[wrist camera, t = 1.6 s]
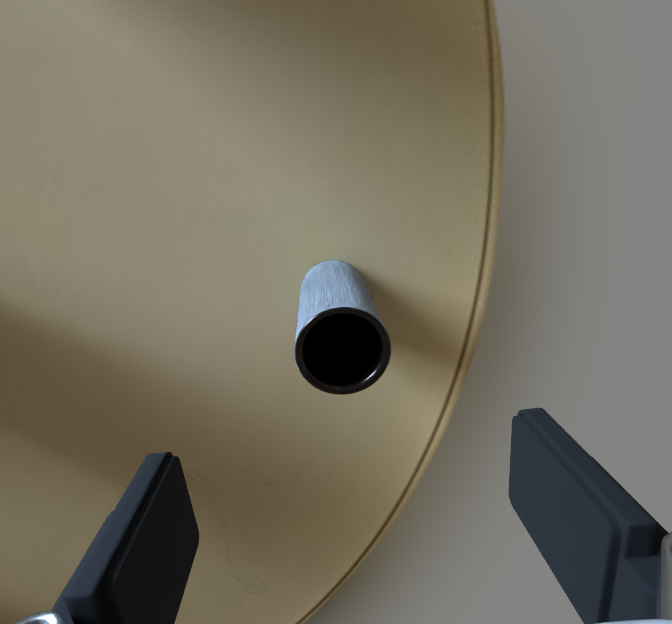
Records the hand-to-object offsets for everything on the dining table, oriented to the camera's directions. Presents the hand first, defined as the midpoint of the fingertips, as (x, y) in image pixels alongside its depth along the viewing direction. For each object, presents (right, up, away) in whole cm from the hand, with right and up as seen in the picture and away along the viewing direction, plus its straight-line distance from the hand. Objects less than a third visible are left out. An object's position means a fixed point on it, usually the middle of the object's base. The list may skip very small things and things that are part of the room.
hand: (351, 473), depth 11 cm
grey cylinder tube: (-1, +6, +17) cm, 19 cm away
